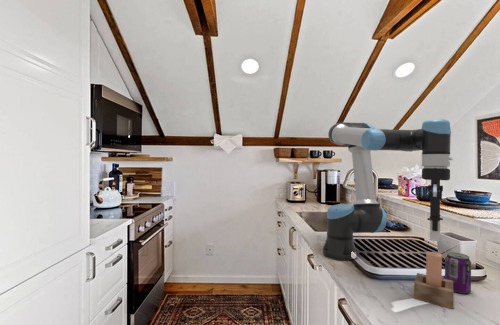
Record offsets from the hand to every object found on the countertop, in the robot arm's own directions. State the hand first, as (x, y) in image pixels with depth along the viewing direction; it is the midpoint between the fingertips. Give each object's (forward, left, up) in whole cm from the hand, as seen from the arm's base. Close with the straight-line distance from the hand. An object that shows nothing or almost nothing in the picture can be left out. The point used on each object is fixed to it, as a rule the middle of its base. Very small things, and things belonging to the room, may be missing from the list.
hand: (434, 240), depth 86 cm
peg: (0, 0, -19) cm, 19 cm away
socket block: (0, 0, -19) cm, 19 cm away
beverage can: (+6, +12, -19) cm, 23 cm away
